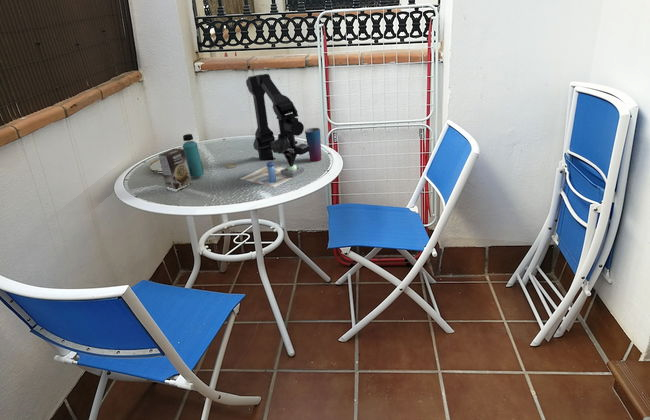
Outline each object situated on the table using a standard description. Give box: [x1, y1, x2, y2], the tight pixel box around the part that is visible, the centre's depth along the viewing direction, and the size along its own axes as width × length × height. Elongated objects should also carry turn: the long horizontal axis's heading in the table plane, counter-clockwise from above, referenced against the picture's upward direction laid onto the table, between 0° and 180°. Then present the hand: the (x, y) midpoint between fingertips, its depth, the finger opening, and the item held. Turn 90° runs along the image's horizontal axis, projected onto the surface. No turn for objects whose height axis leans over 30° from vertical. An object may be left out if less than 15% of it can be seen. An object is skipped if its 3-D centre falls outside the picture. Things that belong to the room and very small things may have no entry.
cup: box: [304, 127, 322, 163], centre depth 217 cm, size 7×7×15 cm
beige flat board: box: [240, 165, 299, 188], centre depth 208 cm, size 23×20×1 cm
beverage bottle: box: [182, 133, 205, 178], centre depth 213 cm, size 6×7×20 cm
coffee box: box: [158, 148, 193, 189], centre depth 205 cm, size 9×6×16 cm
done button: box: [286, 164, 297, 172], centre depth 206 cm, size 4×4×3 cm
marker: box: [266, 161, 276, 183], centre depth 199 cm, size 3×3×8 cm
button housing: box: [281, 165, 305, 179], centre depth 207 cm, size 7×7×2 cm
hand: (291, 166), depth 206 cm, fingers closed, pressing on done button
